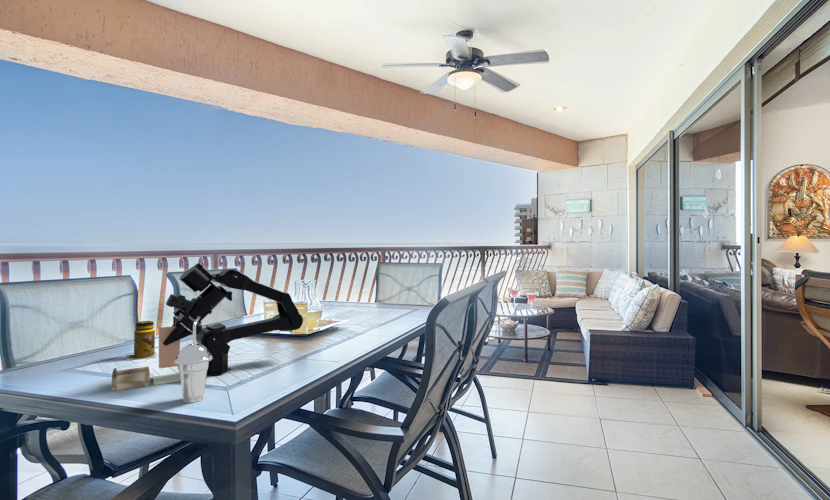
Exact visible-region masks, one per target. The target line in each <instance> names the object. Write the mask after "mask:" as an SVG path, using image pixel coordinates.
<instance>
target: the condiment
mask: <svg viewBox="0 0 830 500" xmlns="http://www.w3.org/2000/svg"><path fill="white" fill-rule="evenodd" d="M154 324H155V323H154V321H152V320H141V321H137V322H136V323H135V330H134V332H133V334H134V335H133V336H134V337H133V340H134V341H133V343H134V344H133V354H126V359H125V360H126V361H129V360H130V361H131V360H142V359H150V358H157V354H156V352H155V351H156V350H155V347H156V345H155V344H156V343H155V341H156V335H155V333H156V329H155V328H154V327H155V326H154Z"/></svg>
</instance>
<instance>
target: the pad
mask: <svg viewBox="0 0 830 500" xmlns="http://www.w3.org/2000/svg"><path fill="white" fill-rule="evenodd" d="M152 382H153V386H158V385H165V384H172V383H179V382H181V380H180V373H179V372H175V373H168V374H161V375H154V376H153V375H152Z"/></svg>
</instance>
